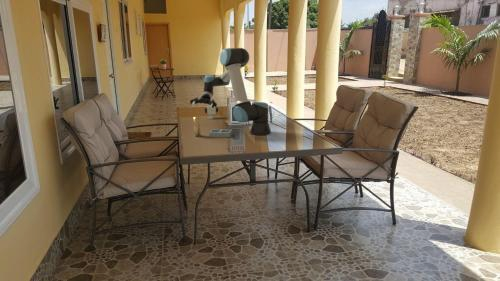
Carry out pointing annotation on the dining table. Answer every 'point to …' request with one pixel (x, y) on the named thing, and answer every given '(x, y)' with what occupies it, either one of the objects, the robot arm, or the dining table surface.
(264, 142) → the dining table surface
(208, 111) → the pneumatic valve
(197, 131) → the gold metal cylinder
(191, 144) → the dining table surface
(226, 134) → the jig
